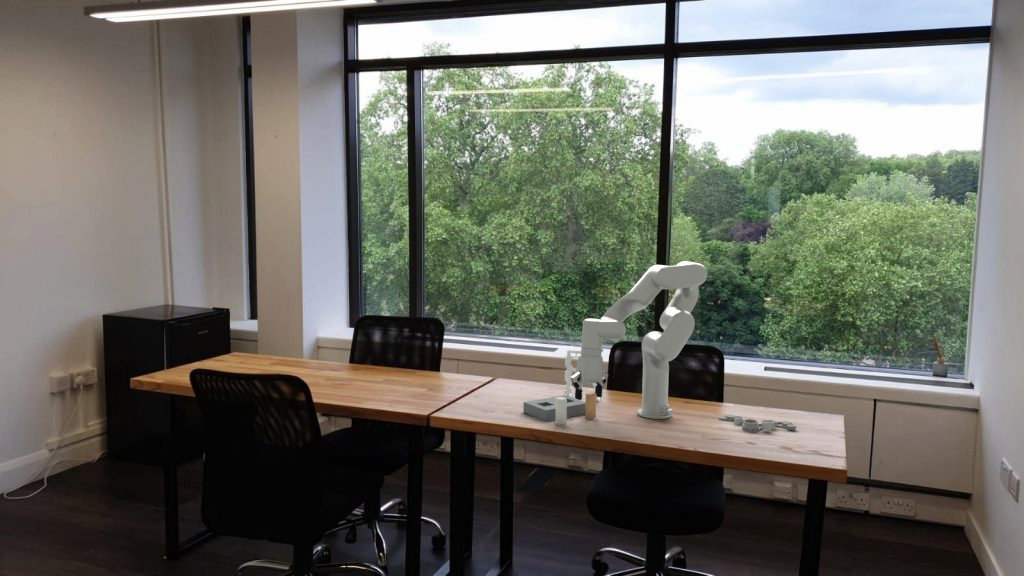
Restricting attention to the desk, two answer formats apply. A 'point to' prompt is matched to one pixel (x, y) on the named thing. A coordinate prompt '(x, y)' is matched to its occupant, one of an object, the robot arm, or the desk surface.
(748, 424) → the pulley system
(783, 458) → the desk surface
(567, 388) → the white plastic rack
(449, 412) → the desk surface
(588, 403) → the peg terracotta
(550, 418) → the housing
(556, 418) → the peg cream
